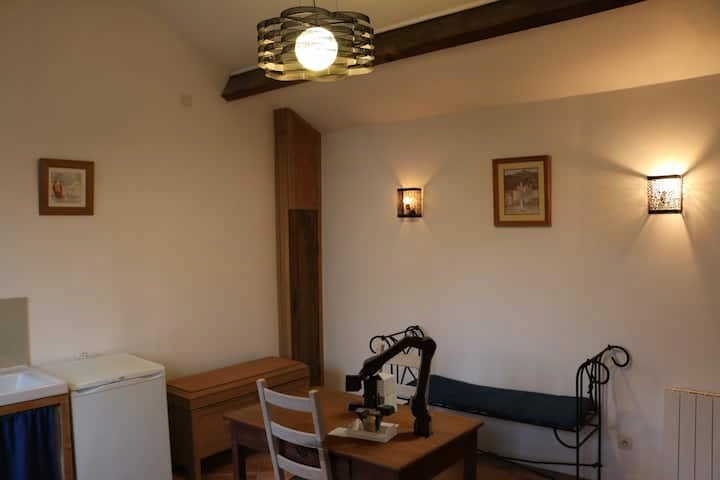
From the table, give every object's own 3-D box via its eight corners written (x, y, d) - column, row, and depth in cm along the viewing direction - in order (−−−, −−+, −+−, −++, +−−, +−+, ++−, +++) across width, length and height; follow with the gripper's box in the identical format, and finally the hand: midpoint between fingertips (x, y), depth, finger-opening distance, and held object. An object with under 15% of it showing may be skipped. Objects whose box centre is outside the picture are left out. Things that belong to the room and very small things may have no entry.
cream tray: (399, 433, 246) (399, 421, 246) (382, 446, 232) (381, 433, 232) (362, 427, 255) (362, 415, 254) (343, 440, 240) (343, 427, 240)
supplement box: (381, 408, 281) (380, 372, 281) (397, 411, 276) (396, 374, 275) (368, 413, 274) (367, 376, 274) (385, 416, 268) (383, 379, 268)
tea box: (380, 434, 244) (380, 416, 244) (374, 438, 240) (374, 420, 240) (369, 432, 247) (368, 415, 247) (363, 436, 242) (362, 419, 242)
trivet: (357, 431, 250) (357, 430, 250) (346, 438, 242) (346, 437, 242) (338, 428, 254) (338, 427, 254) (327, 435, 246) (327, 433, 246)
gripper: (400, 388, 246) (401, 426, 246) (359, 383, 254) (361, 420, 255) (388, 395, 236) (389, 435, 236) (346, 390, 245) (348, 428, 245)
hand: (371, 429), depth 243 cm, fingers closed on tea box, 5 cm apart
